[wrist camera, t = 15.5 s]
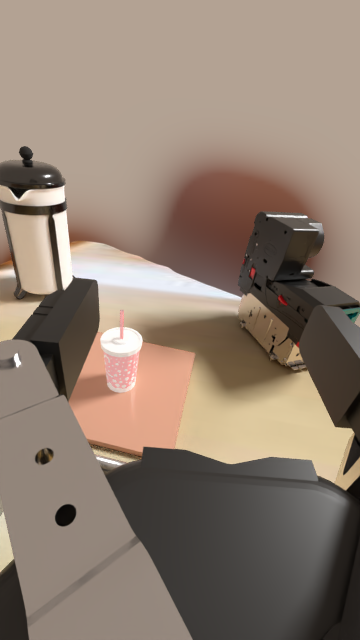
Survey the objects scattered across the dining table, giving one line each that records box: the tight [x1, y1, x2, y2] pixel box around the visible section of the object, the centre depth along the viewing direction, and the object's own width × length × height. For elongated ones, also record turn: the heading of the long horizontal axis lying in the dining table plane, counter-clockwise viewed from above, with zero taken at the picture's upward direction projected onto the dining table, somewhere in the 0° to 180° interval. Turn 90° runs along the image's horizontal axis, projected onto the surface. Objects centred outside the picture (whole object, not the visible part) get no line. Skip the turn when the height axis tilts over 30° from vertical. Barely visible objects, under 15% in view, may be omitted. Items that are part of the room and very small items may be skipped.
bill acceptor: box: [238, 212, 360, 370], centre depth 57 cm, size 10×23×25 cm, turn 22°
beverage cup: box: [100, 310, 143, 393], centre depth 44 cm, size 6×6×14 cm
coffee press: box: [0, 146, 75, 299], centre depth 63 cm, size 17×16×30 cm
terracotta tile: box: [68, 332, 195, 456], centre depth 48 cm, size 22×22×1 cm
